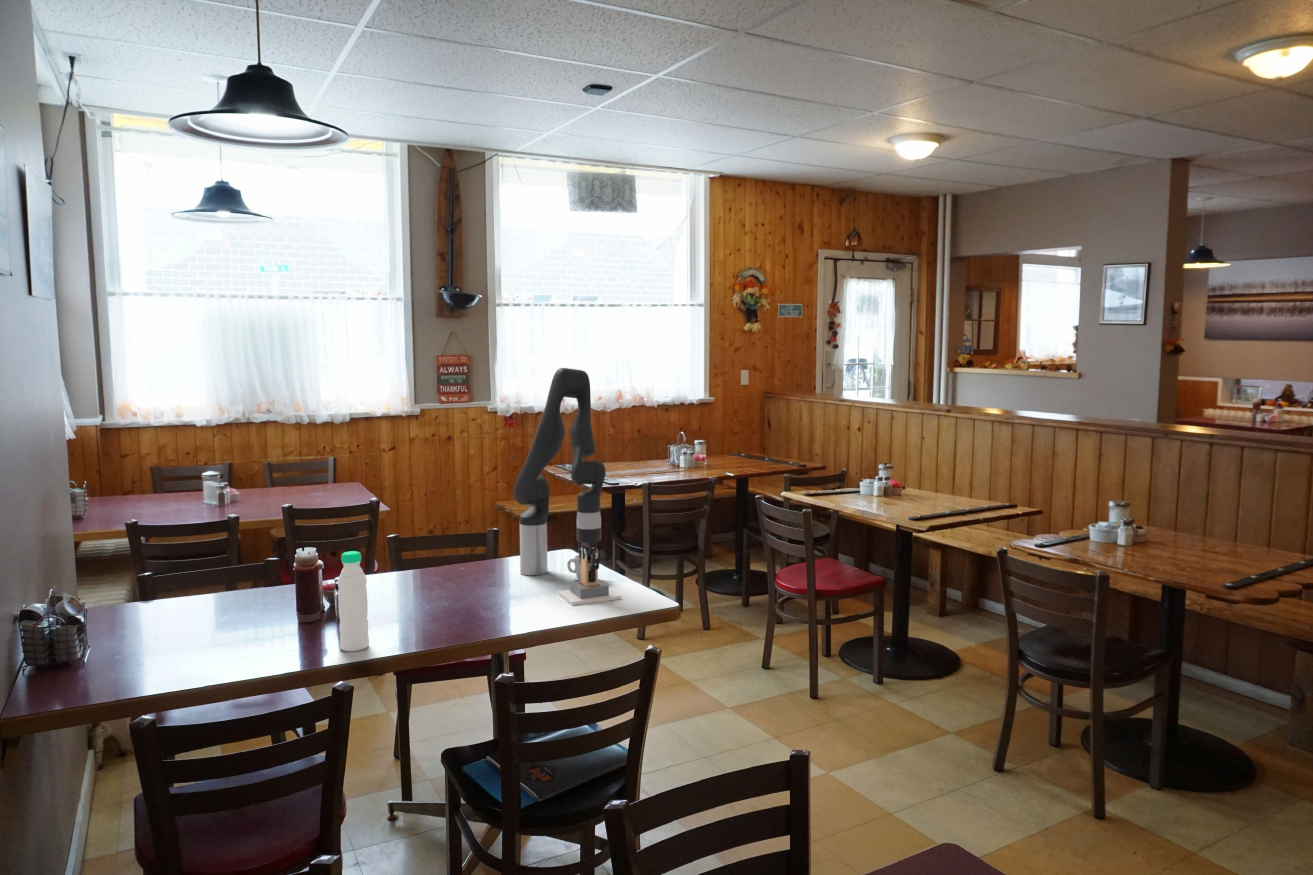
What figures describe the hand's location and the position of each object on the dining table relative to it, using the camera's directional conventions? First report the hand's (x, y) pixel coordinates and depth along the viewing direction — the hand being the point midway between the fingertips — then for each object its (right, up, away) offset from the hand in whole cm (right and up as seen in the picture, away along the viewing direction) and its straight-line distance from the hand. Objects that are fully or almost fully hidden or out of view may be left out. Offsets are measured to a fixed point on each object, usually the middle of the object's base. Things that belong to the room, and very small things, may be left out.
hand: (589, 579), depth 269 cm
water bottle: (-57, -10, -45) cm, 73 cm away
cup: (-4, -3, +20) cm, 21 cm away
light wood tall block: (0, -3, 0) cm, 3 cm away
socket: (0, -5, +1) cm, 5 cm away
